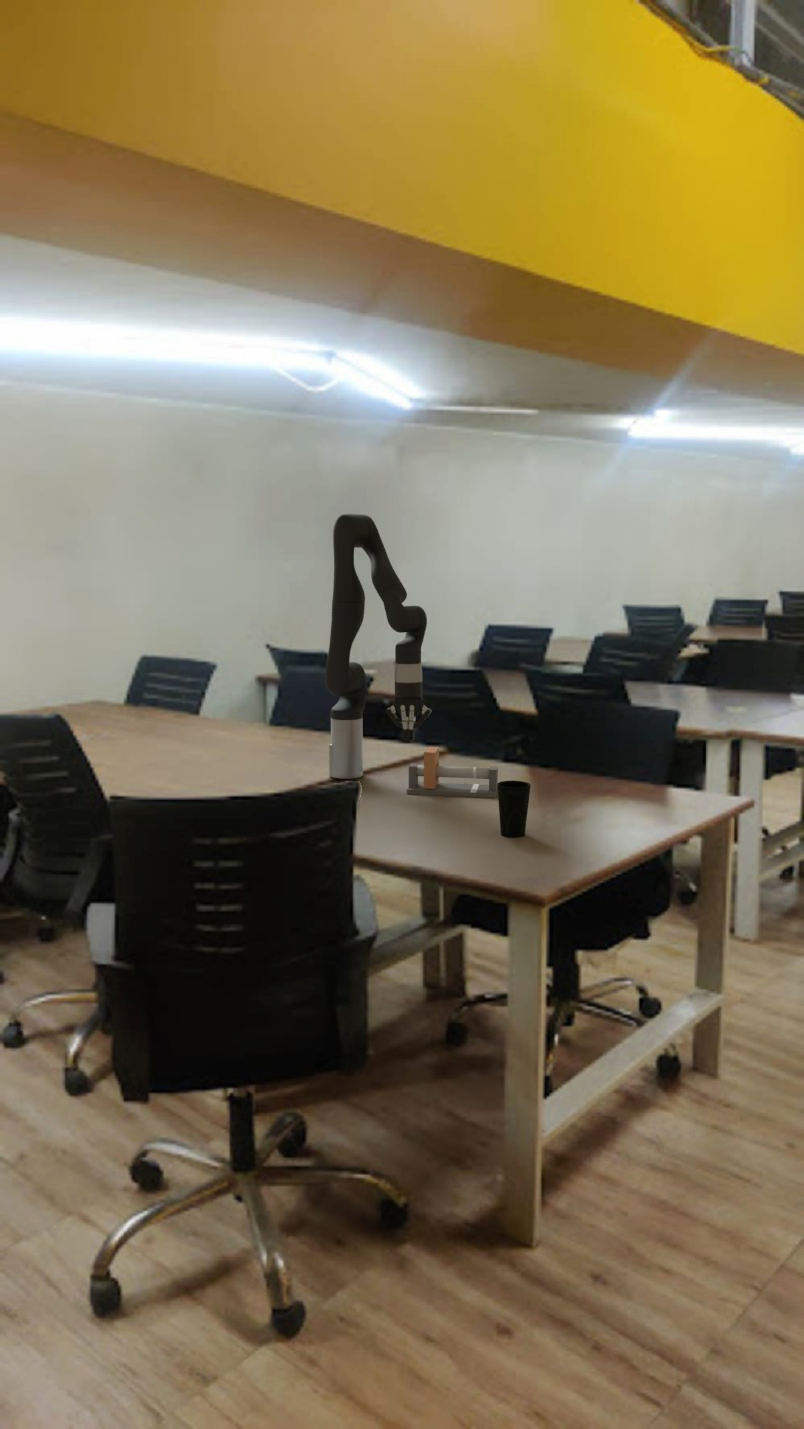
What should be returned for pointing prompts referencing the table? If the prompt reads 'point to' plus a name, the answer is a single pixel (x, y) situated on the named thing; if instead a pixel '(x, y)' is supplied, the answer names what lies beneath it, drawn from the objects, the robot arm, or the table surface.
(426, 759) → the collar
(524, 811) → the cup
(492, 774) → the pipe rail
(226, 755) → the table surface
